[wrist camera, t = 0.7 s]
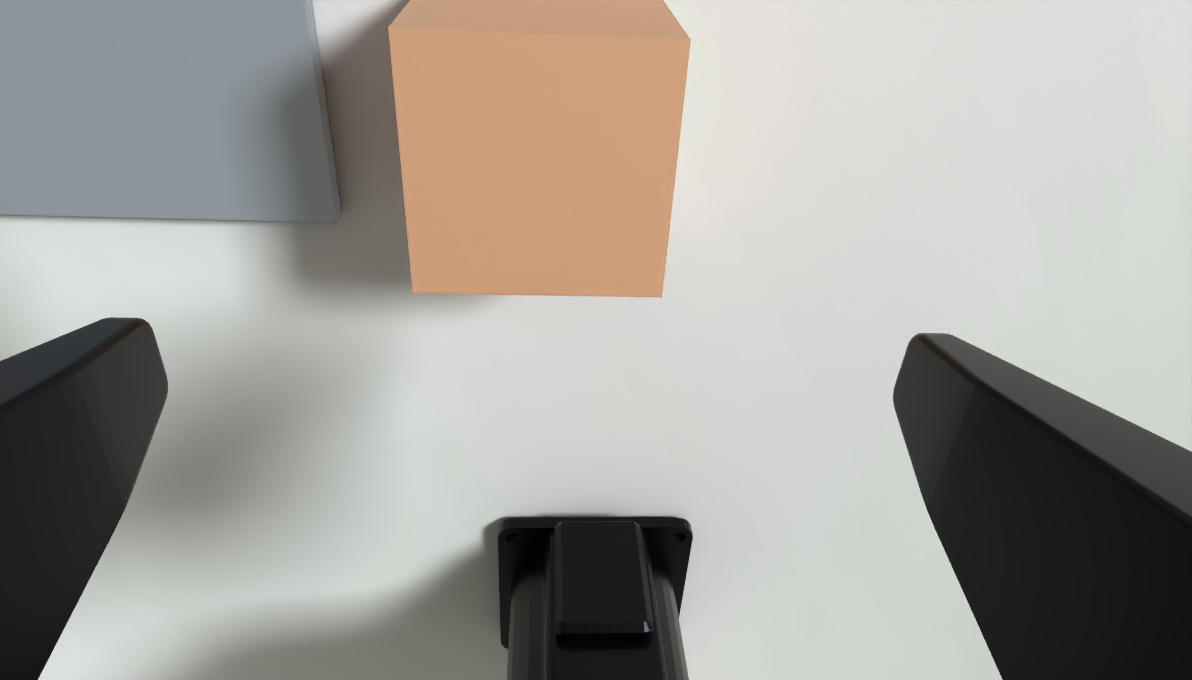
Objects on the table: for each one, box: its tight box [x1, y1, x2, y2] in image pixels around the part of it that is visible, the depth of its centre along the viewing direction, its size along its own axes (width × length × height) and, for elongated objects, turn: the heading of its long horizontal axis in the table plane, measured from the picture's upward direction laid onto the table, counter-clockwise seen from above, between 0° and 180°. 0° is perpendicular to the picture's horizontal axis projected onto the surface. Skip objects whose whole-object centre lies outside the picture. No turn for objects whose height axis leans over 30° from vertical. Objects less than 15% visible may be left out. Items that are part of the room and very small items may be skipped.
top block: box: [388, 0, 691, 297], centre depth 16 cm, size 5×5×5 cm
